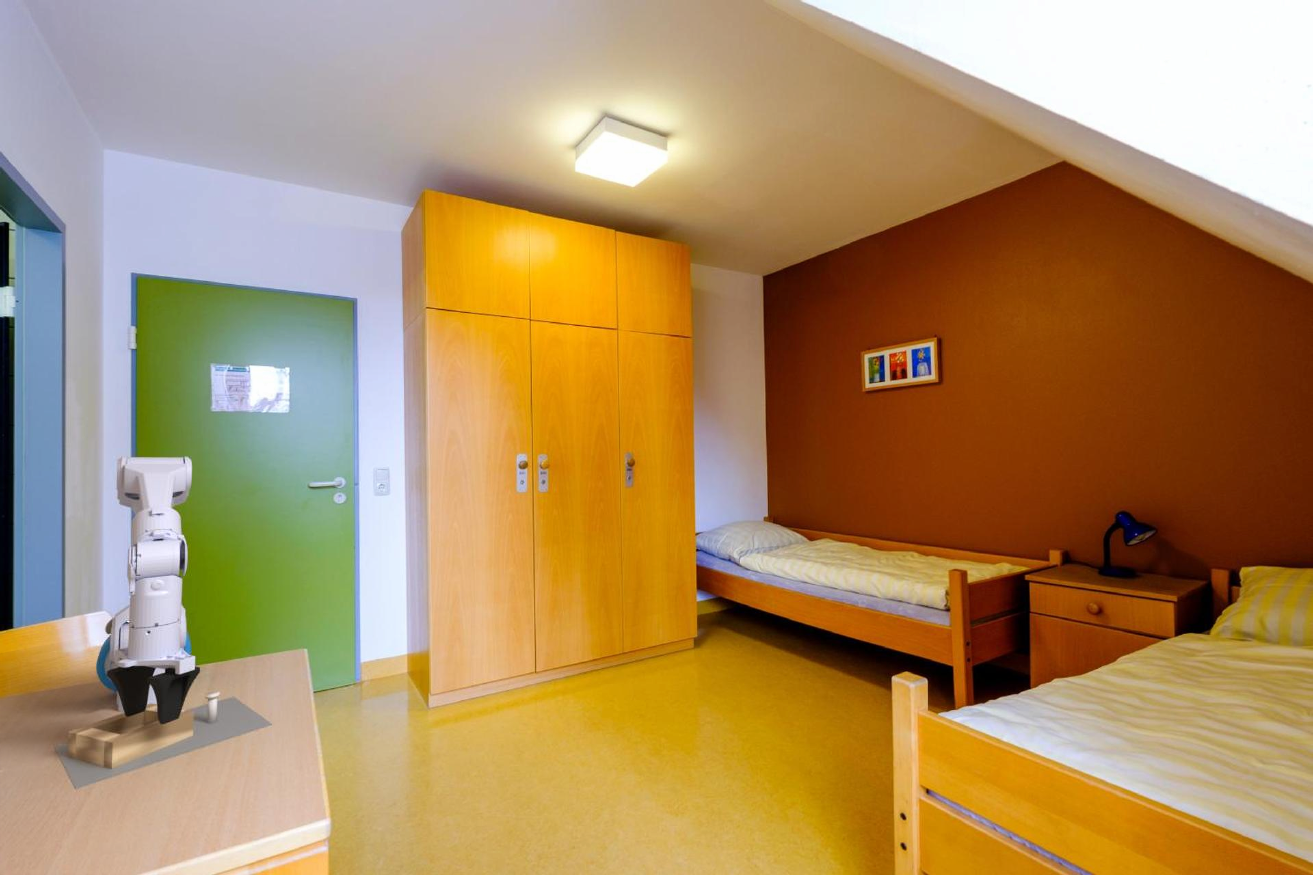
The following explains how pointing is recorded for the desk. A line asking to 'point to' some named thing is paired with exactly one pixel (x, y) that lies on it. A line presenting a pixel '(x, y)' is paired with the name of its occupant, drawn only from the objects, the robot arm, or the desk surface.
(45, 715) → the desk surface
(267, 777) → the desk surface
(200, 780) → the desk surface
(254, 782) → the desk surface
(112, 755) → the oak frame
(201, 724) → the slate board
